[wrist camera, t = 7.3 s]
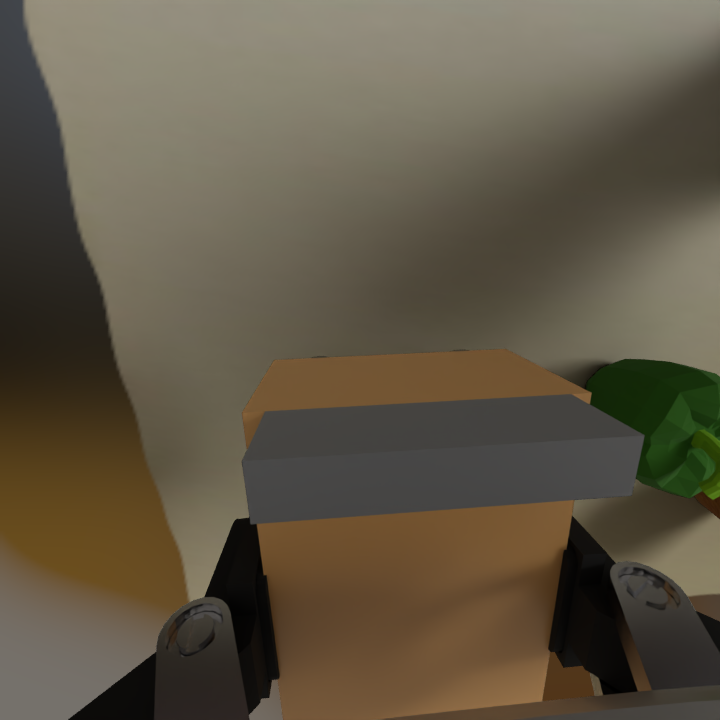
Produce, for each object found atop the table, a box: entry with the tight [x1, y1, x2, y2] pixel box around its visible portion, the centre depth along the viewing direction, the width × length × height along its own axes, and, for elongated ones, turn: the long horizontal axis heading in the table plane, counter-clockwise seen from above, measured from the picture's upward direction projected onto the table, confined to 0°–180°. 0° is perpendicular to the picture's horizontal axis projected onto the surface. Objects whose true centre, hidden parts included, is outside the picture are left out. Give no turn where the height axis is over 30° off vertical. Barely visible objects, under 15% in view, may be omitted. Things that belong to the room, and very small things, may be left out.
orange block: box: [242, 349, 645, 720], centre depth 9 cm, size 10×6×6 cm, turn 2°
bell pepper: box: [586, 359, 720, 500], centre depth 24 cm, size 8×8×10 cm
